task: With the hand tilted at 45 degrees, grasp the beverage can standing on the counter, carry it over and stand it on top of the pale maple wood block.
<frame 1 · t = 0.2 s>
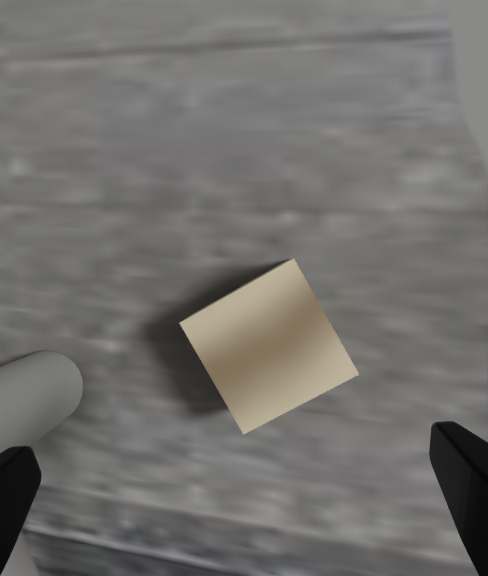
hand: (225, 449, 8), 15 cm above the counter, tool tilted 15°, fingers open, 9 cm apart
maple block: (268, 333, 23), on the counter
beverage can: (55, 382, 25), on the counter
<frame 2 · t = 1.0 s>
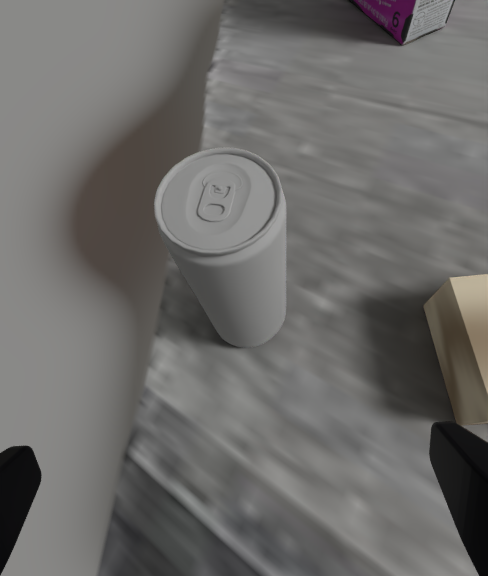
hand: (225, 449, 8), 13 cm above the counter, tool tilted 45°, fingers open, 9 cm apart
candy bar box: (386, 11, 35), on the counter
beverage can: (249, 315, 24), on the counter
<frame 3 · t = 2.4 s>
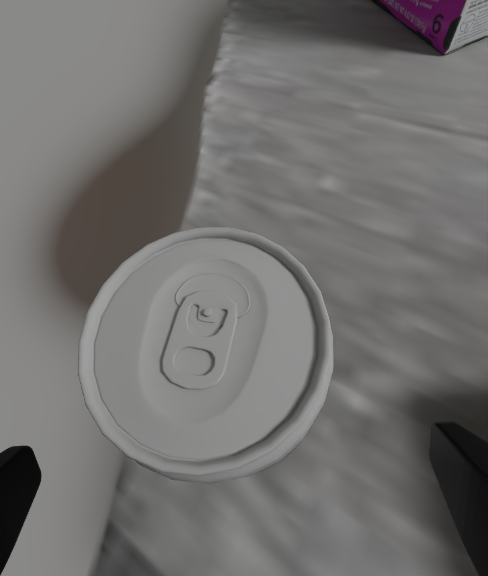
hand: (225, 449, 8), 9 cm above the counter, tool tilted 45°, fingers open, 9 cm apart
candy bar box: (420, 15, 29), on the counter
beverage can: (254, 413, 17), on the counter
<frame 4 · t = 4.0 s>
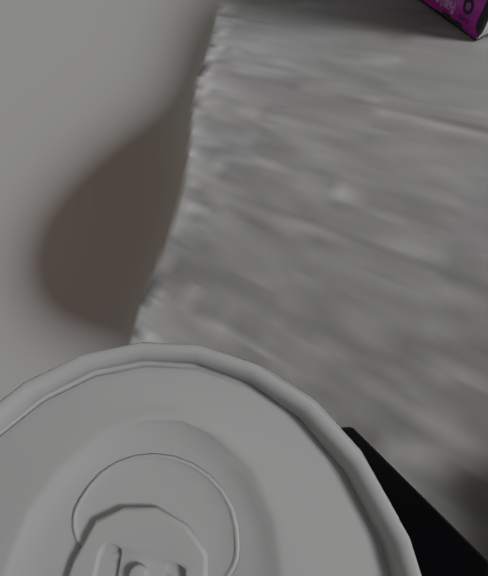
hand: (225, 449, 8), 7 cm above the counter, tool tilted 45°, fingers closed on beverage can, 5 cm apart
beverage can: (253, 493, 14), on the counter, touching gripper
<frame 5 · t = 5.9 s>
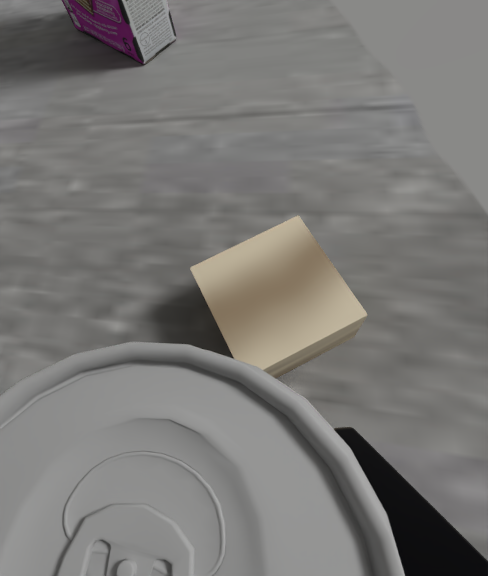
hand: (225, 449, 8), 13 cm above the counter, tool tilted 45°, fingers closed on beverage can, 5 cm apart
candy bar box: (125, 37, 37), on the counter
maple block: (275, 315, 23), on the counter
beverage can: (258, 490, 14), point 6 cm above the counter, touching gripper
when the fingers open (12 cm above the counter, at t = 8.2 s): beverage can drops 1 cm, resting on maple block.
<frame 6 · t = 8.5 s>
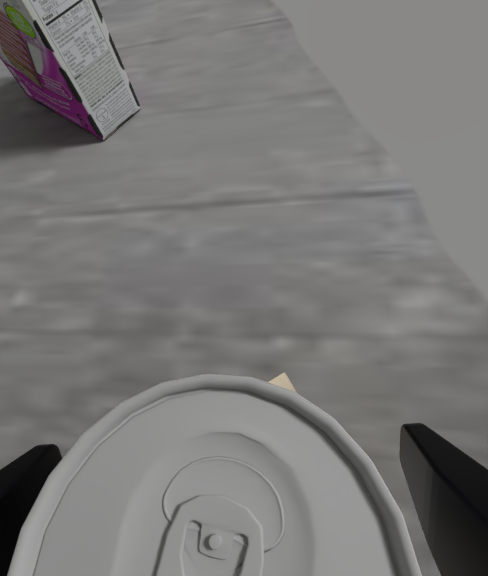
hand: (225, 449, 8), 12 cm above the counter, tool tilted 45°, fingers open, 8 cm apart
candy bar box: (83, 106, 33), on the counter
beverage can: (261, 495, 15), point 4 cm above the counter, touching maple block
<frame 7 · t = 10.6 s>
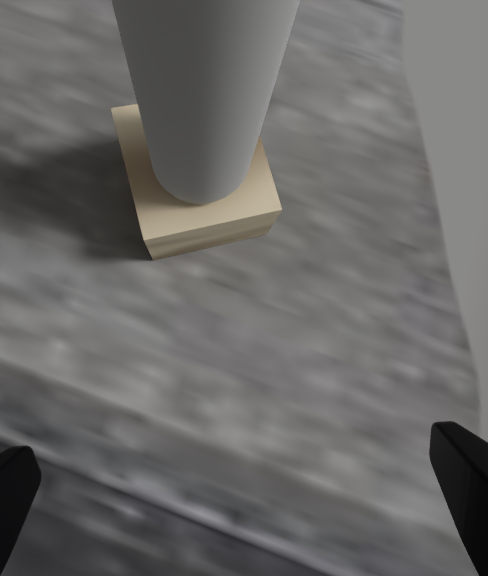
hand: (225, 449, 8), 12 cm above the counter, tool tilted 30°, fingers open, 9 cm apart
maple block: (196, 192, 22), on the counter
beverage can: (200, 165, 18), point 4 cm above the counter, touching maple block
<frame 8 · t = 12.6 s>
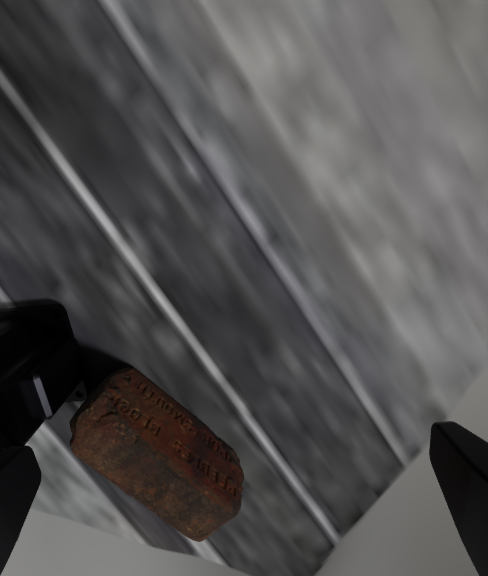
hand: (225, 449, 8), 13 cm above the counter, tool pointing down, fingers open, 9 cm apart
brick: (170, 421, 24), on the counter
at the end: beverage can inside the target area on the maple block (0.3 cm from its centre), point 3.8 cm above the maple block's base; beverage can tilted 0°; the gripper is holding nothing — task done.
